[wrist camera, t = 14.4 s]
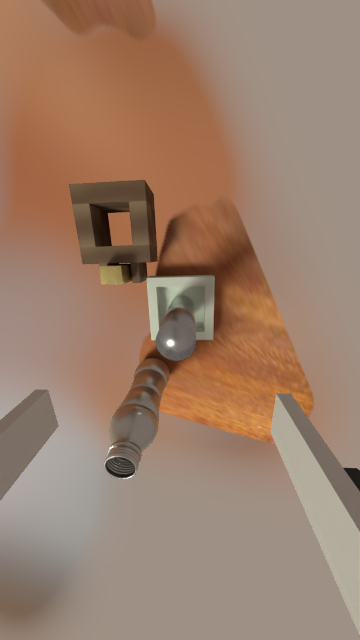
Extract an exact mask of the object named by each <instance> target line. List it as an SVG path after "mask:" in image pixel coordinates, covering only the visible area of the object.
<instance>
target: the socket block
mask: <svg viewBox="0 0 360 640" xmlns="http://www.w3.org/2000/svg"><path fill="white" fill-rule="evenodd" d="M69 188H70V193H71V199H72V205H73V211H74V216H75V222H76V228H77V234H78V239H79V245H80V251H81V257H82V262H83V264H99V265H100V266H107V265H116V264H119V263H131V272H132V281H133V283H141V282H143V281H145V280H147V267H146V262H154V261H158V260H157V244H156V227H155V210H154V195H153V193H152V191H151V190H150V188H149V186H148V185H147V183H146V181H145V180H137V181H119V182H102V183H83V184H69ZM116 212H130V219H131V230H132V240H133V246H112V244H111V236H110V228H109V220H108V213H116Z"/></svg>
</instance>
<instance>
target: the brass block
mask: <svg viewBox="0 0 360 640" xmlns="http://www.w3.org/2000/svg"><path fill="white" fill-rule="evenodd" d="M99 271H100V277H101V284H124V283H127V282H129V281H132V272H131V264H116V265H107V266H99Z"/></svg>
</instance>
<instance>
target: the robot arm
mask: <svg viewBox="0 0 360 640" xmlns="http://www.w3.org/2000/svg"><path fill="white" fill-rule="evenodd" d="M57 427H58V422H57V419H56V415H55V412H54V409H53V405H52V402H51V398H50V395H49V391H48V390H35V391H34V392H32V393H31V394H30V395H29V396H28V397H27V398H26V399H24V400H23V401H22V402H21V403H20V404H19V405H18V406H16V407H15V408H14V409H13V410H12V411H10V412H9V413H8V414H7V415H6V416H5V417H4V418H2V419H1V420H0V500H1V499H2V498H3V496H4V495H5V494H6V493H7V491H8V490H9V489H10V488H11V486H12V485H13V484H14V482H15V481H16V480H17V478H18V477H19V476H20V475H21V473H22V472H23V471H24V469H25V468H26V467H27V466H28V464H29V463H30V462H31V461H32V459H33V458H34V457H35V456H36V454H37V453H38V451H39V450H40V449H41V448H42V446H43V445H44V444H45V443H46V441H47V440H48V439H49V438H50V436H51V435H52V433H53V432H54V431H55V430H56V428H57ZM271 434H272V437H273V439H274V441H275V444H276V446H277V448H278V450H279V453H280V455H281V457H282V460H283V462H284V464H285V466H286V469H287V471H288V473H289V476H290V478H291V480H292V482H293V485H294V487H295V489H296V492H297V494H298V496H299V498H300V501H301V503H302V505H303V507H304V510H305V512H306V514H307V516H308V519H309V521H310V523H311V526H312V528H313V530H314V533H315V535H316V537H317V539H318V542H319V544H320V546H321V548H322V551H323V553H324V555H325V558H326V560H327V562H328V565H329V567H330V569H331V571H332V574H333V576H334V578H335V580H336V583H337V585H338V587H339V590H340V592H341V594H342V597H343V599H344V601H345V603H346V606H347V608H348V610H349V612H350V615H351V617H352V619H353V622H354V624H355V626H356V628H357V631H358V633H359V635H360V470H358V469H357V468H343V467H342V466H341V464H340V463H339V461H338V460H337V459H336V457H335V456H334V454H333V453H332V451H331V450H330V449H329V447H328V446H327V444H326V443H325V442H324V440H323V439H322V437H321V436H320V435H319V433H318V432H317V430H316V429H315V427H314V426H313V425H312V423H311V422H310V420H309V419H308V417H307V416H306V415H305V413H304V412H303V410H302V409H301V407H300V406H299V405H298V403H297V402H296V400H295V399H294V398H293V396H292V395H291V394H276V400H275V406H274V413H273V419H272V426H271Z"/></svg>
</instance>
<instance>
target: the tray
mask: <svg viewBox="0 0 360 640" xmlns="http://www.w3.org/2000/svg"><path fill="white" fill-rule="evenodd" d="M214 288H215V276H214V275H180V276H149V277H147V290H148V303H149V315H150V328H151V340H156V336H157V333H158V331H159V329H160V326H161V324H162V322H163V319H164V317H165V315H166V312H167V310H168V308H169V305H170V303H171V301H172V300H173V299H174V298H175V297H177V296H187V297H189V298H190V299H191V300H192V302H193V304H194V313H195V328H196V340H213V326H214Z"/></svg>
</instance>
